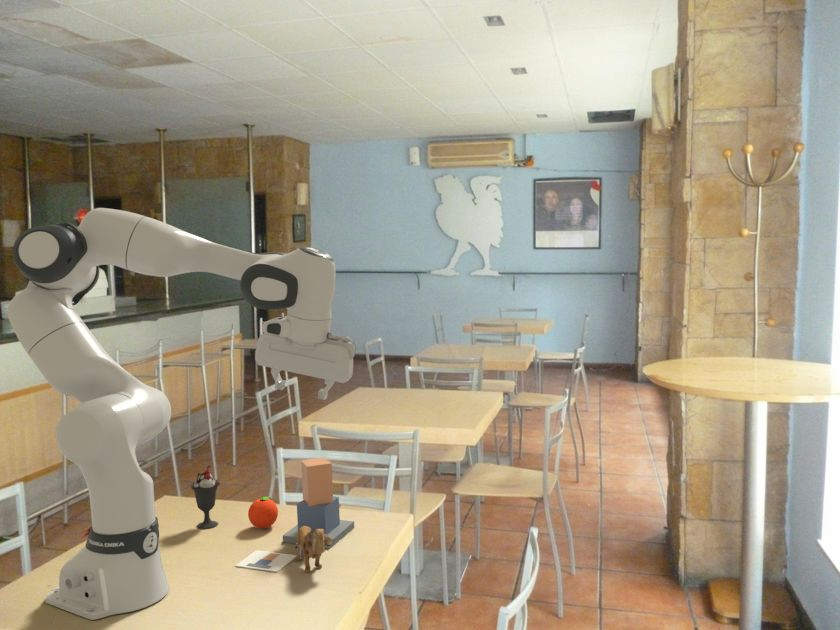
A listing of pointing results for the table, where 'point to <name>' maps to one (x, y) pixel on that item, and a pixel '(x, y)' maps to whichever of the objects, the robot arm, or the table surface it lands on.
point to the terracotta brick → (317, 481)
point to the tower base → (333, 534)
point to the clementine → (263, 512)
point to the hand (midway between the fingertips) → (300, 393)
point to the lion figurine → (311, 545)
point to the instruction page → (266, 561)
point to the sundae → (205, 497)
